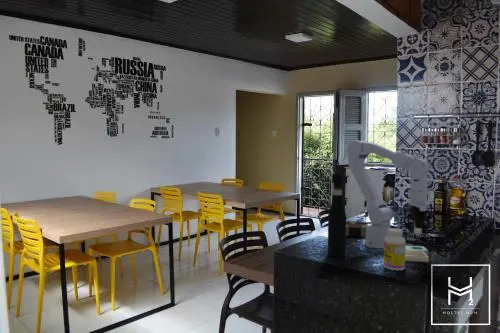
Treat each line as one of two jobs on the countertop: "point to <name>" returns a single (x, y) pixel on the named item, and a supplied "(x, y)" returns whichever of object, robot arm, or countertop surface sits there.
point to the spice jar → (417, 230)
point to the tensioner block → (417, 248)
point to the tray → (416, 256)
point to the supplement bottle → (394, 250)
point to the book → (356, 228)
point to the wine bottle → (337, 221)
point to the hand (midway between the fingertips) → (417, 227)
